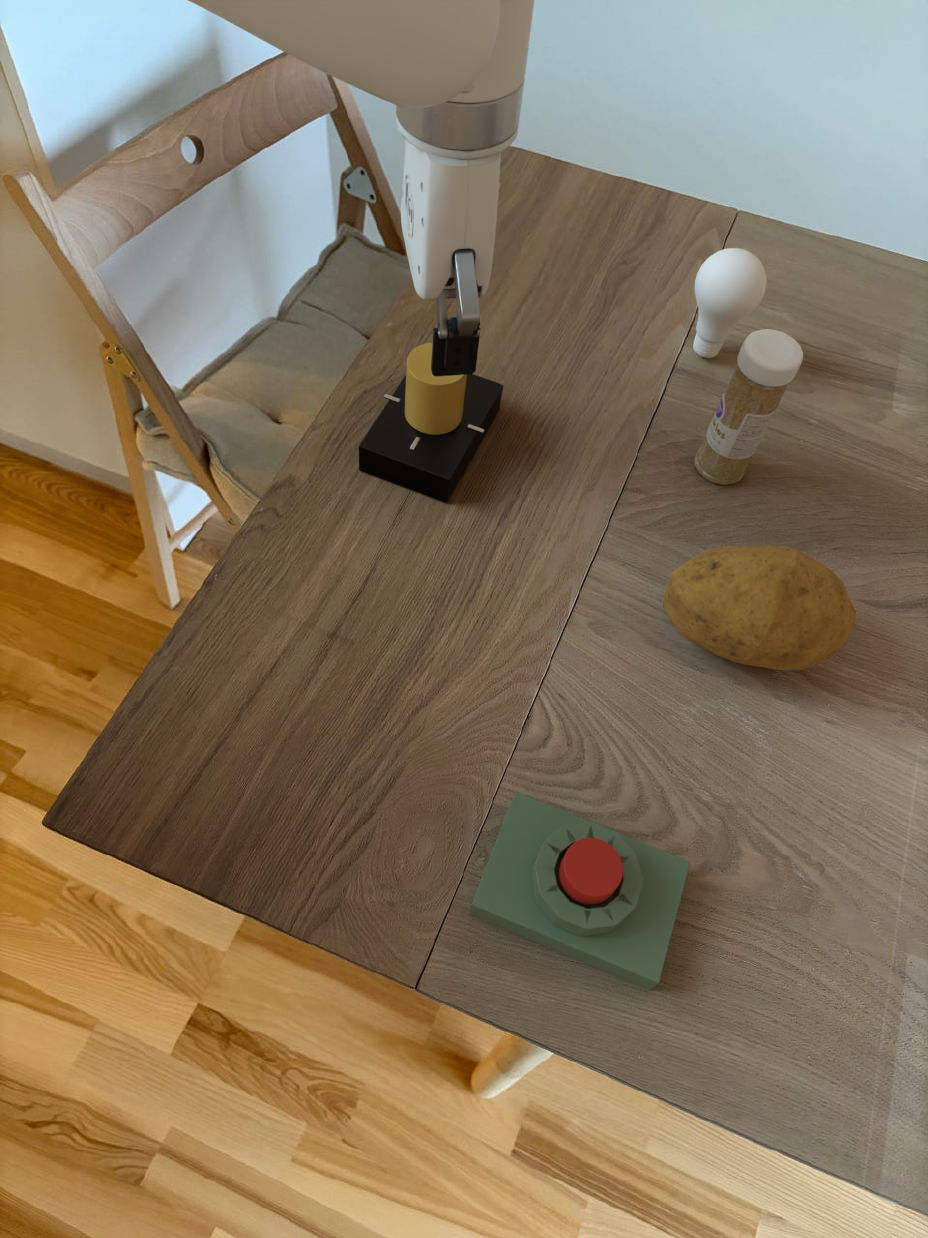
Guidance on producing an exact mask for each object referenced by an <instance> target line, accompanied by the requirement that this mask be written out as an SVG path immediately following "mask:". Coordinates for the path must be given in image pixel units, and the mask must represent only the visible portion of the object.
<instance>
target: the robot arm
mask: <svg viewBox="0 0 928 1238" xmlns="http://www.w3.org/2000/svg"><path fill="white" fill-rule="evenodd" d="M187 1H188V2H190V3H193V4H194V5H196V6H198V7H200V8H202V9H204V10H206V11H208V12H210V13H211V14H214V15H216V16H218V17H219V18H221V19H223V20H225V21H227V22H228V23H230V24H232V25H234V26H236V27H237V28H240V29H241V30H243V31H245V32H247V33H248V34H251V35H252V36H254V37H256V38H257V39H260V40H262V41H264V42H265V43H267V44H269V45H271V46H272V47H274V48H276V49H278V50H279V51H281V52H283V53H285V54H287V55H288V56H290V57H293V58H295V59H297V60H299V61H300V62H303V63H304V64H306V65H308V66H310V67H311V68H314V69H316V70H318V71H320V72H322V73H324V74H326V75H328V76H330V77H332V78H335V79H337V80H339V81H341V82H343V83H345V84H348V85H350V86H352V87H353V88H357V89H358V90H360V91H363V92H365V93H367V94H369V95H372V96H374V97H376V98H378V99H380V100H383V101H385V102H387V103H390V104H393V105H395V124H396V127H397V131H398V132H399V133H400V135H401V137H403V138H404V139H405V142H404V145H405V146H404V156H403V157H404V159H403V174H402V186H401V187H402V188H401V189H402V190H401V201H400V203H401V205H400V222H401V230H402V237H403V241H404V246H405V251H406V255H407V260H408V266H409V270H410V274H411V279H412V284H413V287H414V291H415V292H416V294H417V296H418V297H419V298H421V300H423V301H428V300H436V312H437V313H436V314H437V327H433V329H432V343H433V344H432V360H431V370H432V374H433V375H434V376H452V375H468V374H475V372H476V370H477V362H478V354H479V344H480V338H481V337H480V336H481V309H480V308H481V307H480V298H482V297H483V296H485V294H486V293H487V292H488V290H489V286H490V281H491V276H492V269H493V261H494V253H495V244H496V232H497V221H498V211H499V210H498V209H499V195H500V188H501V183H500V181H501V180H500V178H501V159H502V157H501V156H502V152H503V151H504V150H506V149H507V148H509V147H510V146H511V145H512V144H513V143H514V142H515V140H516V138H517V136H518V133H519V124H520V119H521V112H522V111H521V110H522V103H523V94H524V86H525V80H526V79H525V78H526V71H527V70H526V69H527V63H528V55H529V48H530V47H529V46H530V39H531V29H532V22H533V14H534V6H535V0H187ZM453 285H454V288H445V287H452V286H453ZM448 299H456V313H455V316H452V317H450V318H448Z"/></svg>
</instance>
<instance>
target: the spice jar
mask: <svg viewBox="0 0 928 1238" xmlns="http://www.w3.org/2000/svg"><path fill="white" fill-rule="evenodd" d="M803 360H804V353H803V348H802V347H801V345H800V343H799V342H798V341H797V340H796V339H795V338H794V337H792V336H791V335H789V334H788V333H785V332H783V331H781V330H777V329H771V328H764V329H762V328H761V329H758V330H755V331H752V332H751V333H749V334H748V335H747V336H746V338H745V340H744V341H743V343H742V346H741V348H740V350H739V352H738V354H737V360H736V366H735V369H734V370H733V373H732V375H731V377H730V379H729V382H728V385H727V387H726V389H725V392H723V394H722V396H721V398H720V402H719V403H718V405H717V407H716V410H715V412H714V415H713V417H712V419H711V421H710V423H709V425H708V427H707V430H706V434H705V436H704V438H703V441H702V443H701V445H700V448H699V449H698V450H697V451H696V453H695V456H694V467H695V469H696V470H697V472H698V473H699V474H700V476H702V478H704V479H705V480H707V481H708V482H711V483H713V484H717V485H724V486H727V485H733V484H735V483H736V484H737V483H738V482H739V481H741V480H742V479H743V477H744V476H745V474H746V470H747V467H748V465H749V463H750V461H751V459H752V457H753V455H754V454H755V452H756V451H757V449H758V447H759V445H760V443H761V441H762V440H763V437H764V435H765V433H766V431H767V430H768V428H769V425H770V424H771V422H772V420H773V418H774V415H775V414H776V412H777V409H778V408H779V405H780V402H781V400H782V398H783V396H784V395H785V392H786V390H787V388H788V386H789V385H790V383H791V382H792V381H793V380H794V379H795V377H796V375H797V374H798V371H799V369H800V367H801V365H802V363H803Z"/></svg>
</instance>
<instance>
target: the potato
mask: <svg viewBox="0 0 928 1238" xmlns="http://www.w3.org/2000/svg"><path fill="white" fill-rule="evenodd" d="M662 608H663V610H664V612H665V613H666V615H667V617H668V618H669V620H670V622H671V623H672V625H673V627H674V629H675V630H676V631H677V633H678V634H679V636H680V637H682V638H684V640H685V639H686V640H687V641H689V642H690V643H692V644H694V645H696V646H697V647H699V648H701V649H703V650H705V651H707V652H709V653H711V654H713V655H715V656H717V657H719V658H722V659H724V660H727V661H730V662H733V663H735V664H739V665H746V666H752V667H757V668H766V669H772V670H779V671H802V670H805V669H809V668H813V667H816V666H818V665H820V664H823V663H824V662H826V661H827V660H829V659H830V658H831V657H833V656H835V655H836V654H837V653H839V652H841V650H842V649H843V648H844V647H845V646H846V644H847V643H848V641H849V639H850V636H851V634H852V632H853V629H854V627H855V625H856V616H857V615H856V614H857V611H856V609H855V608H854V605H853V604H852V602H851V599H850V597H849V595H848V592H847V589H846V586H845V583H844V581H842V580H841V578H840V577H839V576H838V575H837V574H836V573H835V572H834V571H833V570H832V569H831V568H830V567H828V566H826V565H824V564H823V563H821V562H820V561H818V559H815V558H814V557H812V556H810V555H808V554H806V553H805V552H803V551H801V550H799V549H798V548H795V547H788V546H783V545H777V544H767V545H764V544H763V545H726V546H721V547H715V548H708V549H705V550H704V551H701V552H700V553H699V554H697V555H696V556H694V557H692V558H691V559H689V560H688V561H687V562H684V563H683V564H682V565H680V566H678V567H677V568H676V569H674V570H672V571H671V573H670V576H669V578H668V581H667V584H666V586H665V589H664V592H663V595H662Z"/></svg>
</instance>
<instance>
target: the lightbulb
mask: <svg viewBox="0 0 928 1238" xmlns="http://www.w3.org/2000/svg"><path fill="white" fill-rule="evenodd" d="M766 290H767V274H766V270H765V267H764V264H763V263H762V262H761V260H760V259H759V257H757V256H756V255H755V254H753V253H752V252H750V251H748V250H746V249H744V248H741V247H739V248H738V247H728V248H723V249H720V250H718V251H716V252H714V253H712V254H711V255H709V256H708V258H706V260H705V261H704V262H703V263H702V264H701V266H700V268H699V269H698V270H697V273H696V276H695V280H694V296H695V301H696V304H697V307H698V317H697V318H698V319H697V322H696V326H695V332H696V333H695V336H694V340H693V343H692V348H693V349H692V350H694V352H695V354H696V355H698V356H700V357H702V358H706V359H710V358H714V357H716V356H717V355H719V353H720V351H721V348H722V347H723V345H724V342H725V341H726V340H728V338H729V336H730V334H731V333H732V331H733V329H734V328H735V326H736V325H737V324H738V323H739V322H740V321H742V320H743V319H745V318H746V317H747V316H749V315H750V314H751V313H752V312H754V311H755V310H756V309H757V308H758V306H759V305H760V304H761V303H762V301H763V298H764V296H765V294H766Z"/></svg>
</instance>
